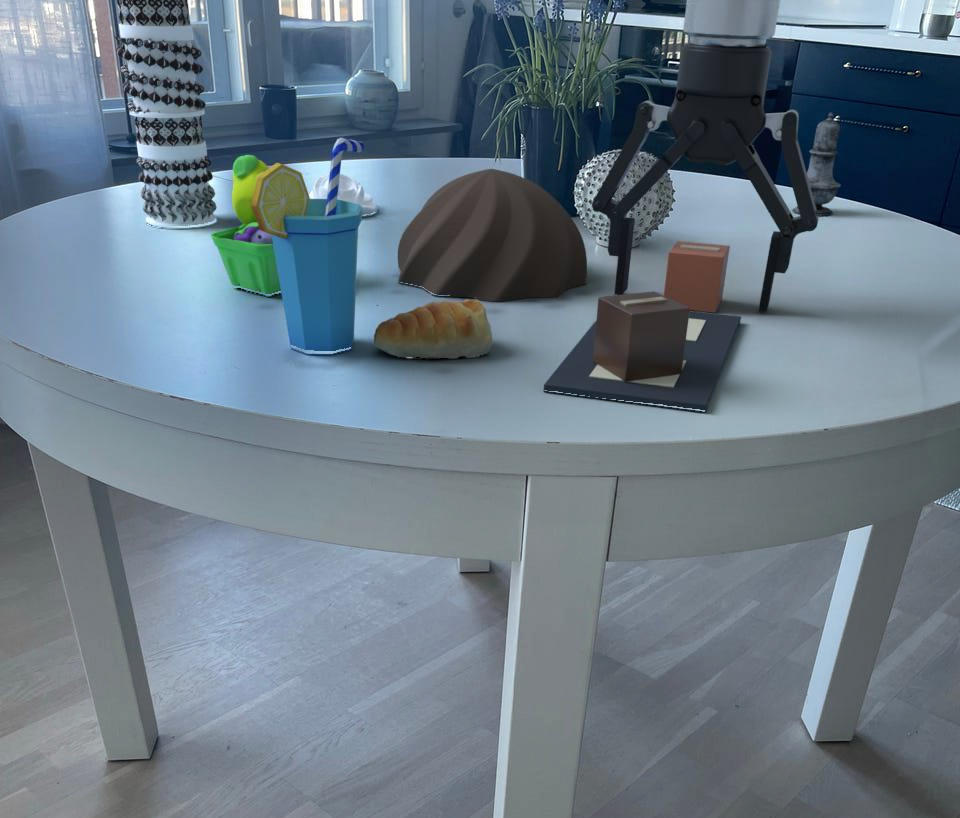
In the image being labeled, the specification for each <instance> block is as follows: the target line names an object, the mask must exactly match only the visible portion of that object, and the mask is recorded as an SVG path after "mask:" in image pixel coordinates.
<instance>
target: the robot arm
mask: <svg viewBox="0 0 960 818" xmlns="http://www.w3.org/2000/svg"><path fill="white" fill-rule="evenodd" d="M780 4H781V0H686V4H685V12H684V20H683V29H682V32H683V34H684V35H686V36H689V39H688V42H685V43H684V44H683V46H682V47H681V48H680V56H679V63H678V70H677V71H678V73H677V81H676V89H675V96H674V100H673V102H672V104H671V106H667V105H661V104H656V103H655V102H654V101H653V100H650V99H648V100H646V101H645V100H644V101H642V102H641V103H640V104H639V105H637V109H636V112H635V118H634V123H633V127H632V131H631V133H630V135H629V136H628V138H627V140H626V141H625V143H624V145H623V147H622V148H621V151H620V152H619V154H618V156H617V158H616V159H615V161H614V163H613V165H612V166H611V168H610V170H609V172H608V173H607V175H606V177H605V179H604V181H603V183H602V184H601V186H600V188H599V189H598V191H597V193H596V195H595V197H594V199H593V201H592V203H591V208H592V210H593V211H594V212H596V213H601V214H603V215H605V216H607V218H608V219H609V232H608V233H609V234H608V244H607V252H608V255H609V257H617V262H616V263H617V265H616V272H615V273H616V274H615V285H614V294H613V295H623V294H625V293H626V292H627V290H628V289H629V288H628V287H629V279H630V278H629V277H630V267H631V261H632V260H631V259H632V248H633V240H634V231H635V221H636V218H635V217H627V214H628V213H629V212H630V211H631V210H632V209H633V208H634V207H635V206H636V205H637V204H638V203H639V202H640V201H641V199H643V198H644V196H645V195H646V194H647V193H648V192H649V191H650V190H651V189H652V188H653V187H654V186H655V185H656V184H657V183H658V182H659V181H660V180H661V179H662V178H663V176H664V175H665V174H666V173H667V172H668V171H670V169H671V168H672V167H674V165H675V164H676V163H677V162H678V161H679V160H680V159H681V157H683V156H684V157H685V159H686V160H689V161H690V162H691V164H704V163H708V162H709V163H711V164H715V165H717V166H728V165H730V164H733V163H734V162H736V161H737V163H738V164H739V167H740V168H741V170H742V171H743V173H744V174H745V175H746V177H747V178H748V180H749V181H750V183H751V185H752V186H753V188H754V190H755V192H756V193H757V195H758V196H759V198H760V200H761V202H762V203H763V205H764V207H765V209H766V210H767V211H768V213H769V215H770V216H771V219H772V220H773V222H774V223H775V225H776V228H778V230H779V231H778V230H777V231H776V230H773V232H772V235H771V237H770V243H769V250H768V253H767V254H768V255H767V260H766V265H765V271H764V277H763V283H762V287H761V293H760V298H759V299H760V300H759V305H758V312H765V313H767V312H768V308H769V305H770V300H771V296H772V290H773V283H774V280H775V274H786V272H787V271H788V269H789V266H790V262H791V257H792V251H793V247H794V242H795V238H796V237H797V236H798V235H799V234H802V233H806V232H813V231H815V230H816V229H817V227H818V225H819V220H820V219H819V218H820V216H818V213H817V209H816V206H815V202H814V198H813V195H812V191H811V187H810V184H809V180H808V176H807V169H806V166H805V162H804V158H803V155H802V154H803V153H802V151H801V146H800V143H799V139H798V133H799V132H798V131H799V120H800V119H799V117H800V116H799V112H798V110H796V109H793V108H791V109H789V110H787V111H786V112H772V113H771V112H770V113H766V109H765V98H766V97H765V96H766V91H767V85H768V84H767V83H768V77H769V71H770V65H771V58H772V51H771V47H770V46H767V44H768V43H767V40H770V39H772V38H773V37H774V36H775V34H776V30H777V29H776V28H777V23H778V18H779V17H778V16H779V9H780ZM665 121H666V122H667V125H668V127H669V129H670V130H671V133H672V135H673V137H674V139H675V142H673V144H672V145H671V146H670V147H669V148H668V149H667V150H666V151H665V152H664V153H663V154H662V156H660V158H659V159H658V160H657V161H656V162H655V163H654V164H653V165H652V166H651V167H650V169H648V171H647V172H646V173H645V174H643V176H642V177H641V178H640V179H639V180H638V181H637V182H636V183H635V184H634V185H633V187H632V188H630V190H628V192H627V193H626V194H625V195H623V197H622V198H621V199H620V200H619V201H618V200H617V199H614V197H615V194H616V193H617V191H618V190H619V187H620V186H621V185H622V182H623V181H624V179H625V177H626V176H627V174H628V172H629V171H630V168H631V167H632V165H633V163H634V162H635V160H636V159H637V156H638V155H639V153H640V151H641V149H642V147H643V146H644V144H645V142H646V141H647V139H648V136H649V135H650V132H654V131H656V130H657V129H658V128H659V127H660V125H661V123H662V122H665ZM765 129H769V130H770V131H771V134H772V137H773V139H774V140H775V141H779V142H780V144H781V152H782V155H783V159H784V162H785V167H786V169H787V172H788V176H789V180H790V184H791V188H792V192H793V194H794V199H795V201H796V205H797V206H798V209H799V213H800V214H799V215H798V216H794V215H793V212H792V211H791V210H790V209H789V207H788V205H787V203H786V201H785V200H784V198H783V196H782V194H781V193H780V191H779V190H778V188H777V186H776V185H775V183H774V181H773V180H772V178H771V176H770V174H769V173H768V171H767V169H766V168H765V166H764V164H763V163H762V161H761V158H760V156H759V154H758V152H757V151H756V149H755V147H754V145H753V144H752V143H753V142H755V140H756V139H757V138H758V137H759V135H760V134H761V133H762V132H763V130H765ZM797 206H796V207H797Z"/></svg>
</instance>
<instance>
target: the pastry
mask: <svg viewBox="0 0 960 818" xmlns="http://www.w3.org/2000/svg"><path fill="white" fill-rule="evenodd" d="M487 315H488V314H487V311H486V307H485V306H484V305H483V303H482V301H480V299H476V298H474V299H469V298H466V299H464V300H463V301H447V300H445V301H444V300H443V301H432V302H429V303H426V304H424V305H423V306H417V307H415V308H414V309H412V310H409V311H406V312H401V313H400V312H399V313H398V314H397V315H396V316H394V317H393V318H392V317H390V318H388V319H386V320H384V321H382V322H380V323H379V324H378V326H377V327H375V330H374V331H375V332H374V334H373V345H374V346H375V347H376V348H378V349H380V350H381V351H383V352H385V353H387V354H389V355H392V356H395V357H397V358H399V357H402V358H404V357H414V358H405V359H406V360H414V359H417V358H416V357H420V358H419V359H422V358H430V359H440V358H449V359H448V360H450V359H453V360H454V359H458V358H459V357H465V358H467V359H471V358H479V357H481V356H484V354H485V355H487V354H489V351H490V349H491V348H492V346H493V344H494V340H493V333H492V327H491V324H490V322H489V320H488V319H489V318H488V316H487ZM480 355H481V356H480ZM474 356H476V357H474ZM399 359H401V358H399Z"/></svg>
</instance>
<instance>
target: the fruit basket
mask: <svg viewBox="0 0 960 818" xmlns="http://www.w3.org/2000/svg"><path fill="white" fill-rule="evenodd" d="M269 168H270V167H269V166H268V165H267V164H266V163H265V162H263V160H260V159H258V157H257V156H255V155H252V154H245V155H241V156H238V157H237V158H235V160H234V162H233V165H232V181H233V182H232V184H233V185H232V191H231V203H232V208H233V211H234V214H235V215H236V217H237V218H238V220H239V221H240V222H241V225H239V226H238V225H237V226H234V227H231V228H226V229H223V230H219V231H216V232H215V231H214V232H212V233H210V238H211V239H212V241H213V244H214V246H215V247H216V248H217V250H218V253H219V255H220V258H221V261H222V263H223V265H224V266H223V267H224V268H225V271H226V274H227V276H228V279H229V281H230V283H231V286H232V285H234V286H241V287H243V288H247V289H251V290H254V291H259V292H262V293H265V294H272V293H275V292H278V291H281V287H280V282H279V276H278V270H277V264H276V258H275V252H274V246H273V241H272V235H271V234H269V233H267V232H264V231H261V230H260V228H259V225H258V222H257V220H256V217H255V215H254V212H253V209H252V207H251V203H252V198H253V194H254V190H255V186H256V181H257V177H258V176H259V175H261V174H262V173H263V172H265V171H266V170H267V169H269ZM234 290H238V289H237V288H234ZM246 292H247V293H249V292H248V291H246ZM250 293H251V294H253V293H252V292H250ZM254 294H256V293H254ZM256 295H257V294H256ZM259 295H262V294H259ZM279 295H282V293H280V294H277V295H276V296H279ZM262 296H263V295H262ZM274 296H275V295H273V296H265V297H267V298H270V297H274Z"/></svg>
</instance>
